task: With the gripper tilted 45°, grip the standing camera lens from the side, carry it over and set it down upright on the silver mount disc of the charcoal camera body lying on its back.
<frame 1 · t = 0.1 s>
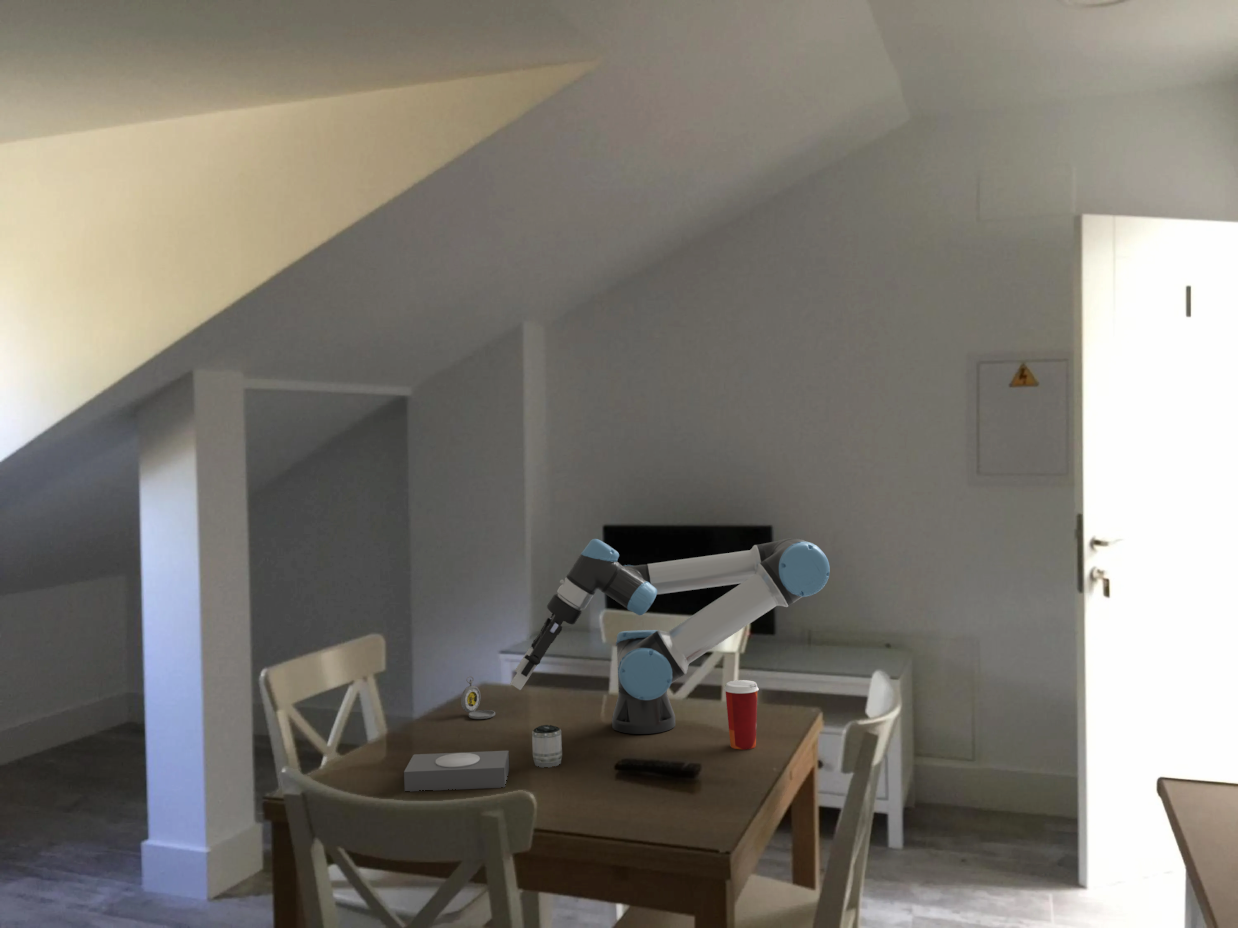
hand: (517, 680, 247), 15 cm above the table, tool tilted 35°, fingers open, 13 cm apart
camera lens: (547, 764, 234), on the table
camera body: (458, 779, 224), on the table
paper cup: (742, 746, 242), on the table
pocket watch: (479, 717, 276), on the table
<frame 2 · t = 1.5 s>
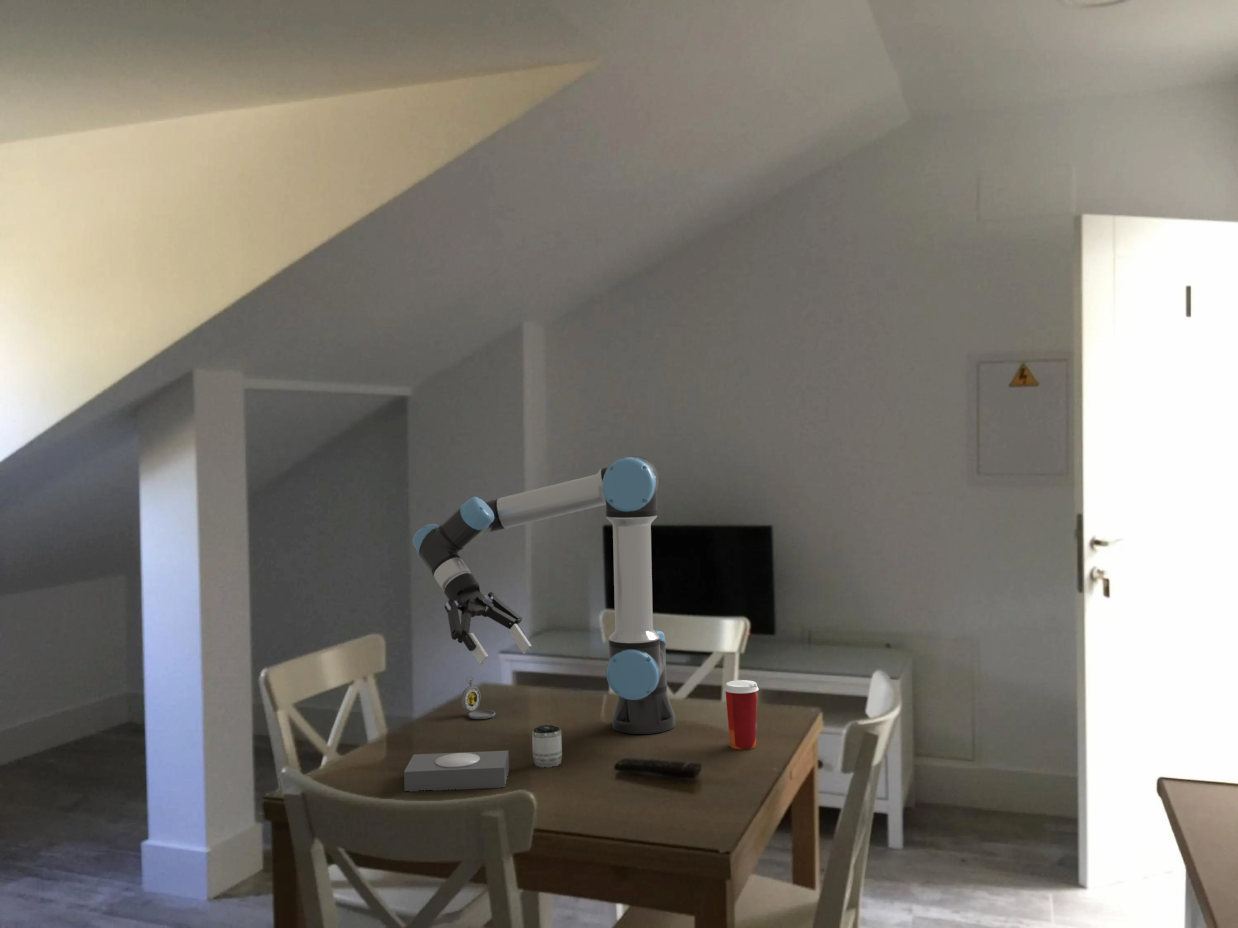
hand: (506, 655, 240), 22 cm above the table, tool tilted 45°, fingers open, 13 cm apart
nothing on the table moved.
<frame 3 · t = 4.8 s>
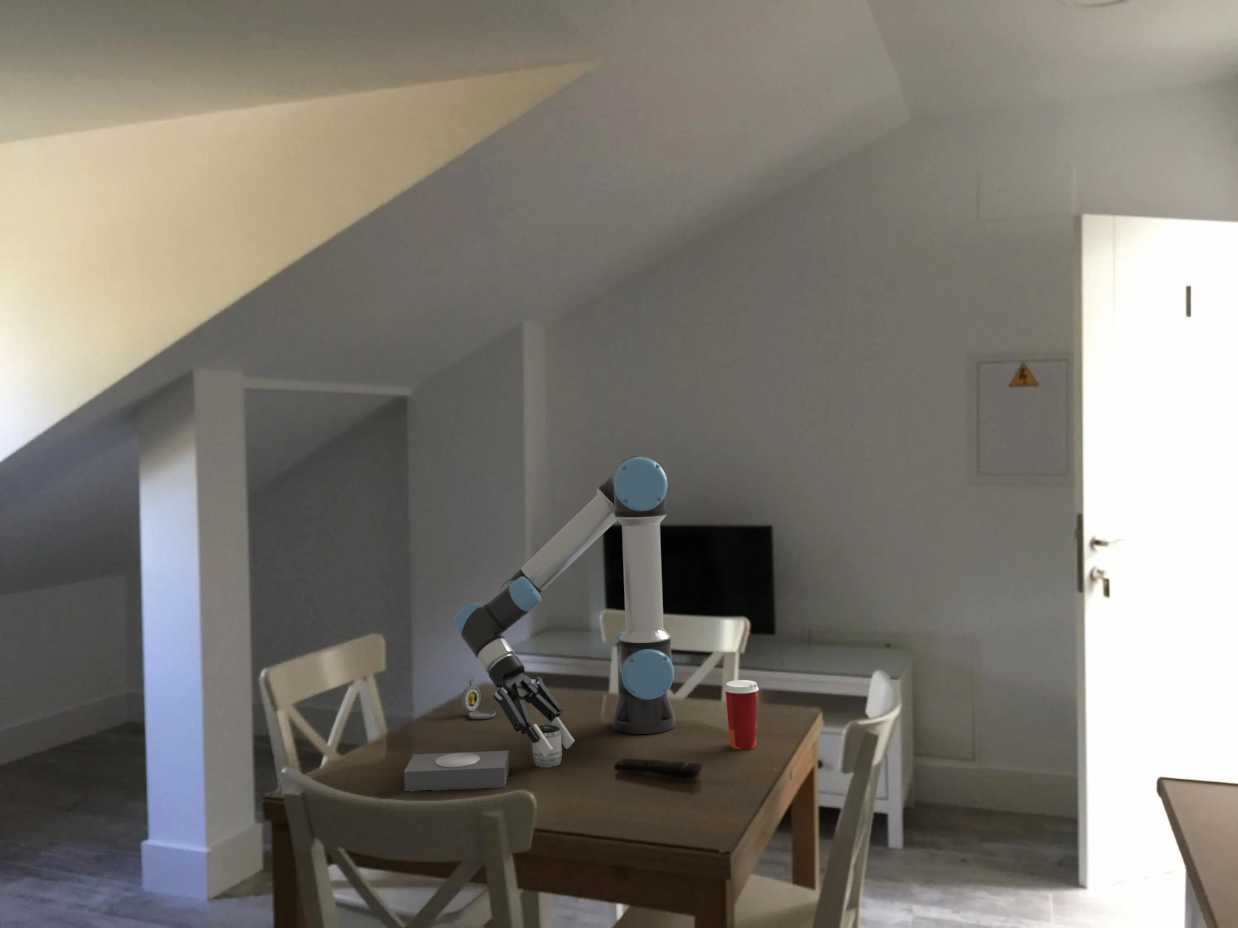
hand: (559, 748, 232), 4 cm above the table, tool tilted 45°, fingers closed on camera lens, 6 cm apart
camera lens: (547, 764, 234), on the table, touching gripper
everything else where it was.
when the fingers open (9 cm above the table, at t = 9.0 s): camera lens drops 1 cm, resting on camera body.
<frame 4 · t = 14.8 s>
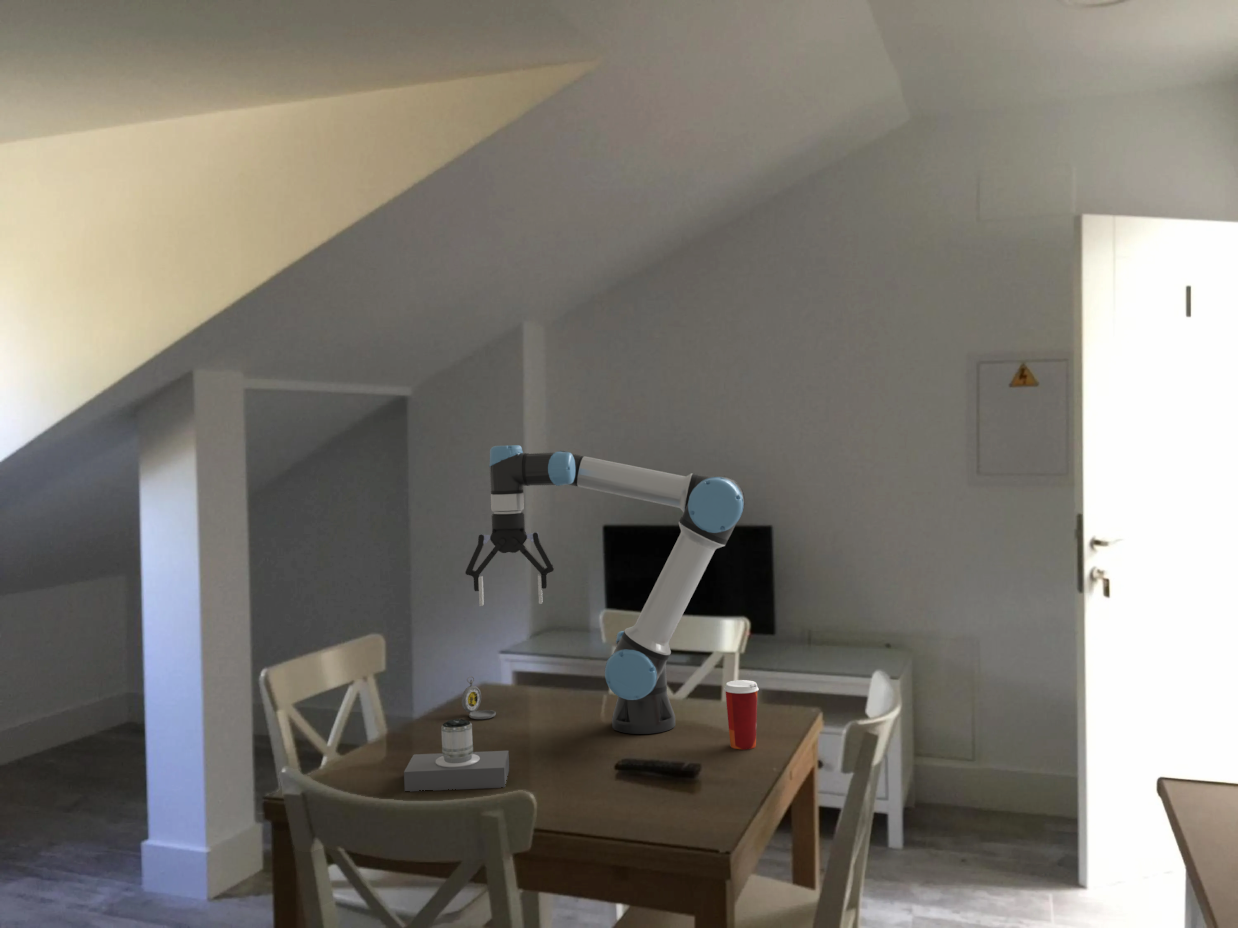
hand: (511, 604, 252), 32 cm above the table, tool pointing down, fingers open, 13 cm apart
camera lens: (457, 760, 224), point 4 cm above the table, touching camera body
everything else where it was.
at the end: camera lens 0.1 cm from the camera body (horizontally); camera lens point 4.1 cm above the table; camera lens tilted 0° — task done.
